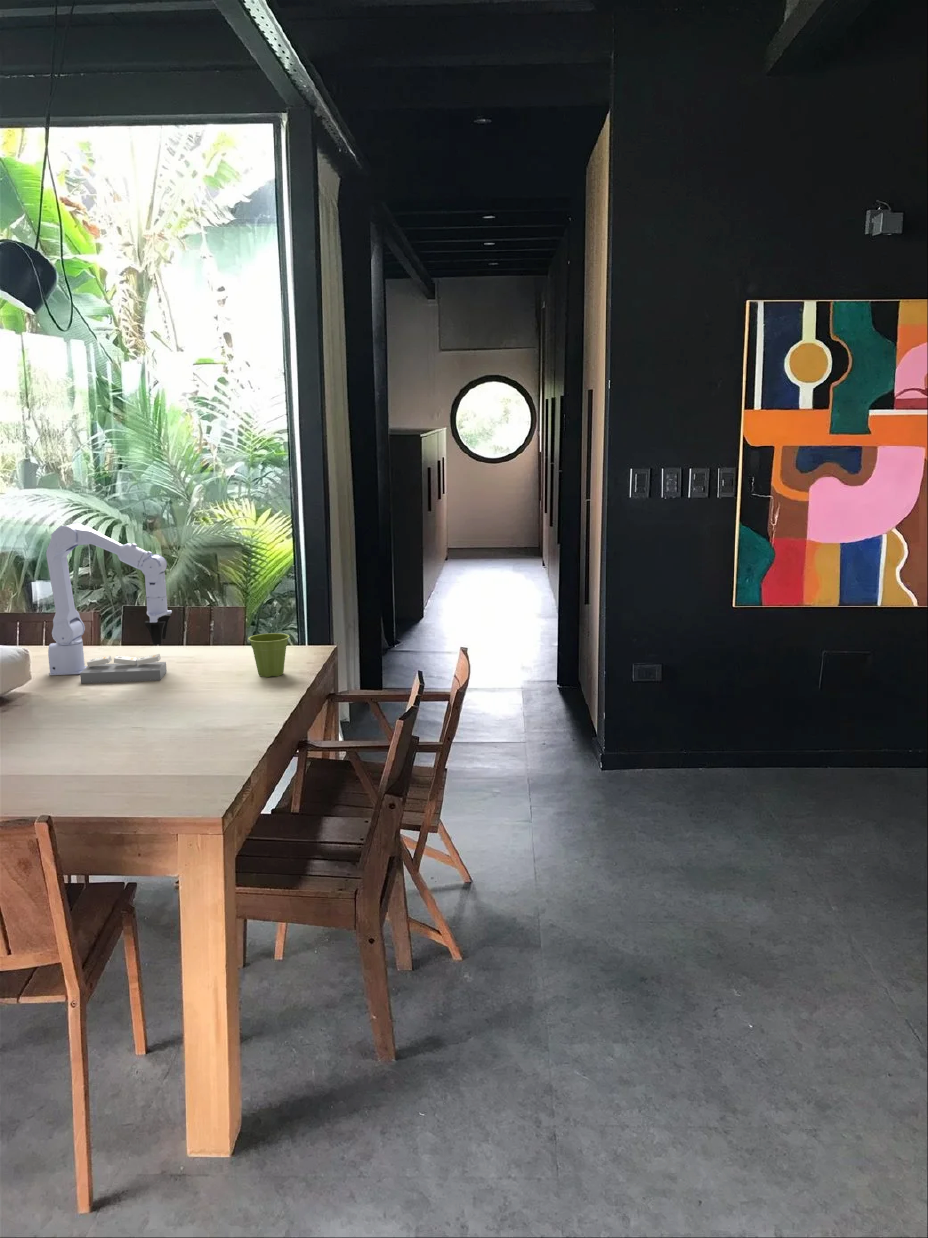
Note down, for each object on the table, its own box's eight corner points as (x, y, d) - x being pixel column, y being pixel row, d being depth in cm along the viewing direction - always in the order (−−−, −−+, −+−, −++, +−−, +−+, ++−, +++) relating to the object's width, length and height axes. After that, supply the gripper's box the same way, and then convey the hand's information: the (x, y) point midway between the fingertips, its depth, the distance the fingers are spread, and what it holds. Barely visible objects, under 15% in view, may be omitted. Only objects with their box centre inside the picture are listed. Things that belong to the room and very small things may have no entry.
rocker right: (137, 665, 283) (136, 660, 282) (140, 662, 286) (139, 657, 286) (158, 661, 283) (157, 656, 283) (160, 658, 287) (159, 653, 286)
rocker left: (87, 667, 281) (86, 662, 281) (90, 664, 284) (89, 659, 284) (108, 663, 281) (107, 658, 281) (111, 660, 285) (110, 655, 284)
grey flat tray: (81, 683, 276) (80, 672, 276) (89, 674, 286) (88, 664, 285) (160, 680, 279) (159, 669, 278) (166, 671, 289) (165, 661, 288)
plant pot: (295, 669, 290) (294, 632, 288) (284, 680, 278) (283, 641, 276) (257, 669, 291) (255, 632, 289) (244, 679, 280) (242, 641, 277)
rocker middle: (113, 662, 282) (114, 658, 281) (116, 660, 285) (116, 655, 285) (135, 665, 282) (135, 660, 282) (137, 662, 286) (137, 657, 286)
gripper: (166, 600, 278) (169, 646, 281) (174, 591, 292) (177, 635, 295) (140, 601, 277) (144, 647, 280) (150, 592, 291) (153, 636, 294)
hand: (159, 641), depth 287 cm, fingers open, 7 cm apart
